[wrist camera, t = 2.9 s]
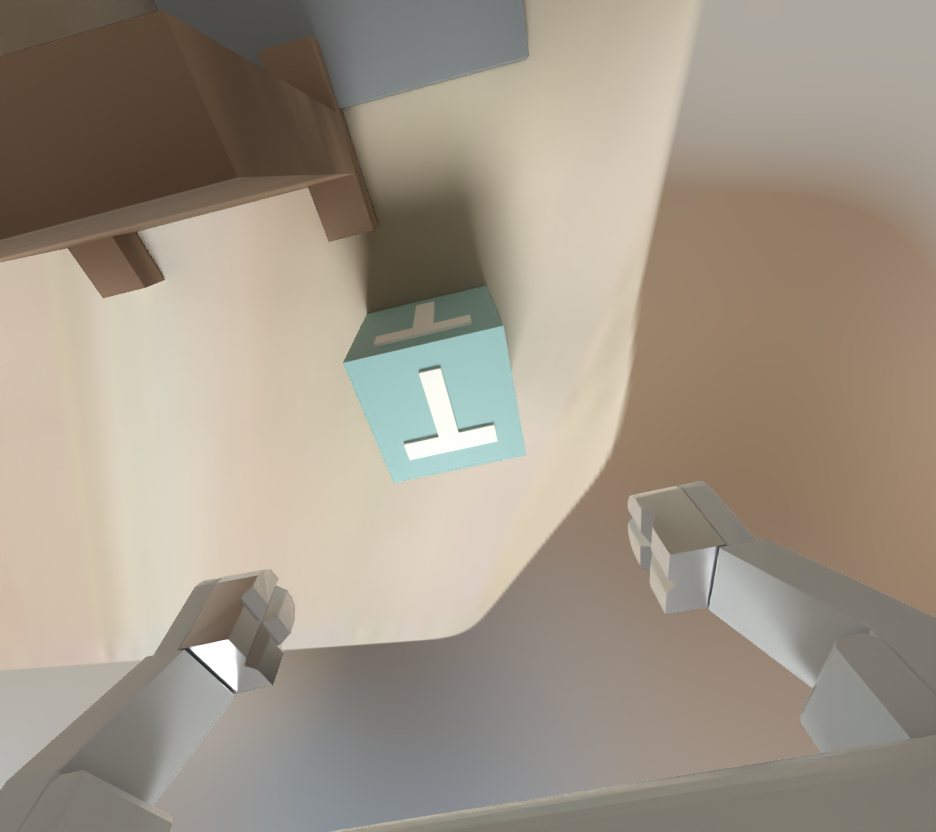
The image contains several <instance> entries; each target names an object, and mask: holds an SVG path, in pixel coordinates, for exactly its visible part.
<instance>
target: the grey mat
mask: <svg viewBox="0 0 936 832" xmlns="http://www.w3.org/2000/svg"><path fill="white" fill-rule="evenodd" d="M154 2H155V5H156V7H157V9H158V10H164V11H165V12H167V13H169V14H170V15H172V16H174V17H175V18H177V19H179V20H181V21H182V22H184V23H186V24H187V25H189V26H191V27H193V28H194V29H196V30H198V31H199V32H201V33H203V34H204V35H206V36H208V37H210V38H211V39H213V40H215V41H216V42H218V43H220V44H221V45H223V46H225V47H227V48H228V49H230V50H232V51H233V52H235V53H237V54H238V55H240V56H242V57H244V58H245V59H247V60H249V61H250V62H252V63H254V64H256V65H257V66H259V67H261V68H262V69H264V68H263V65H262V63H261V60H260V57H259V55H258V52H257V51H260V50H264V49H267V48H271V47H274V46H278V45H282V44H285V43H289V42H292V41H296V40H299V39H303V38H307V37H310V36H313V37H314V38H315V39H316V40H317V42H318V43H319V45H320V49H321V52H322V55H323V58H324V62H325V65H326V68H327V71H328V74H329V78H330V81H331V84H332V87H333V91H334V94H335V97H336V100H337V103H338V107H340V108H341V109H344V108H347V107H351V106H355V105H358V104H362V103H366V102H370V101H373V100H377V99H381V98H384V97H388V96H392V95H396V94H399V93H403V92H407V91H410V90H414V89H418V88H422V87H425V86H429V85H433V84H436V83H440V82H444V81H448V80H451V79H455V78H459V77H463V76H466V75H470V74H474V73H477V72H481V71H485V70H489V69H492V68H496V67H500V66H503V65H507V64H511V63H515V62H518V61H522V60H526V59H527V57H528V56H529V51H528V41H527V31H526V21H525V11H524V1H523V0H154Z"/></svg>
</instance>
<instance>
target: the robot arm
mask: <svg viewBox="0 0 936 832" xmlns="http://www.w3.org/2000/svg"><path fill="white" fill-rule="evenodd" d="M628 510H629V512H630V513H631V515H632V517H633V518H632V519H631V520H630V521H629V523H628V534H629V538H630V543H631V547H632V549H633V552H634V554H635V556H636V558H637V561H638V563H639V565H640V566H641V567H642V568H644V569H645V570H647V571H649V572H650V586H651V588H652V590H653V592H654V593H655V595H656V597H657V599H658V601H659V603H660V604H661V607H662V608H663V610H664V612H665V614H668V613H675V612H681V611H687V610H694V609H700V608H707V607H709V610H710V611H712V612H713V613H714V614H715V615H717V616H718V617H719V618H721V619H722V620H723V621H725V622H726V623H727V624H729V625H730V626H731V627H732V628H734V629H735V630H736V631H738V632H739V633H740V634H742V635H743V636H744V637H746V638H747V639H748V640H750V641H751V642H752V643H754V644H755V645H756V646H758V647H759V648H760V649H762V650H763V651H764V652H766V653H767V654H768V655H770V656H771V657H772V658H773V659H775V660H776V661H777V662H779V663H780V664H781V665H783V666H784V667H785V668H787V669H788V670H789V671H791V672H792V673H793V674H795V675H796V676H797V677H799V678H800V679H801V680H803V681H804V682H805V683H806V684H808V685H809V686H811V687H812V690H811V693H810V695H809V697H808V699H807V701H806V703H805V705H804V707H803V709H802V712H801V715H800V721H801V723H802V724H803V726H804V727H805V729H806V730H807V732H808V734H809V735H810V737H811V738H812V739H813V741H814V742H815V744H816V746H817V747H818V749H819V750H820V752H821V753H819V754H813V755H806V756H800V757H794V758H787V759H781V760H775V761H769V762H763V763H756V764H750V765H743V766H737V767H731V768H725V769H718V770H712V771H706V772H700V773H693V774H687V775H681V776H675V777H668V778H663V779H657V780H650V781H643V782H637V783H631V784H625V785H619V786H612V787H606V788H599V789H593V790H587V791H581V792H574V793H568V794H562V795H556V796H550V797H543V798H537V799H531V800H524V801H519V802H512V803H506V804H499V805H493V806H487V807H480V808H474V809H468V810H462V811H456V812H449V813H443V814H437V815H431V816H424V817H418V818H412V819H406V820H400V821H393V822H387V823H380V824H374V825H368V826H361V827H355V828H349V829H343V830H337V831H331V832H936V618H935V617H933V616H931V615H929V614H926V613H924V612H922V611H920V610H918V609H916V608H914V607H911V606H909V605H907V604H905V603H903V602H901V601H898V600H896V599H894V598H892V597H890V596H888V595H886V594H883V593H881V592H879V591H877V590H874V589H873V588H870V587H868V586H866V585H864V584H862V583H860V582H858V581H855V580H853V579H851V578H849V577H847V576H845V575H842V574H840V573H838V572H836V571H834V570H832V569H830V568H827V567H825V566H823V565H821V564H819V563H816V562H815V561H812V560H810V559H808V558H806V557H804V556H802V555H799V554H797V553H795V552H793V551H791V550H789V549H786V548H784V547H782V546H780V545H778V544H776V543H774V542H771V541H769V540H767V539H758V540H757V539H756V538H755V537H754V536H753V535H752V534H751V533H750V531H749V530H748V529H747V528H746V527H745V526H744V525H743V524H742V522H741V521H740V520H739V519H738V518H737V517H736V516H735V515H734V514H733V513H732V511H731V510H730V509H729V508H728V507H727V506H726V505H725V503H724V502H723V501H722V500H721V499H720V498H719V497H718V496H717V495H716V493H714V491H713V490H712V489H711V488H710V487H709V486H708V484H706V483H704V482H703V481H698V482H694V483H689V484H684V485H679V486H676V487H675V486H673V487H669V488H665V489H659V490H654V491H650V492H645V493H641V494H636V495H631V496H630V497H629V499H628ZM277 582H278V577H277V576H276V575H275V574H274V573H273V571H272V570H261V571H255V572H249V573H243V574H238V575H232V576H226V577H222V578H217V579H211V580H205V581H202V582H201V583H200V584H198V585H197V586H196V587H195V588H194V590H193V591H192V593H191V594H190V596H189V598H188V599H187V601H186V603H185V604H184V606H183V608H182V609H181V611H180V613H179V614H178V616H177V618H176V619H175V621H174V622H173V624H172V626H171V627H170V629H169V631H168V632H167V634H166V636H165V637H164V639H163V641H162V642H161V644H160V646H159V647H158V649H157V650H156V652H155V654H154V655H152V656H148V657H146V658H145V659H144V660H142V661H141V662H140V663H139V664H138V665H137V666H136V667H135V668H134V669H133V670H131V671H130V672H129V673H128V674H127V675H126V676H125V677H123V678H122V679H121V680H120V681H119V682H118V683H117V684H116V685H114V686H113V687H112V688H111V689H110V690H109V691H108V692H106V693H105V694H104V695H103V696H102V697H101V698H100V699H99V700H98V701H96V702H95V703H94V704H93V705H92V706H91V707H90V708H89V709H87V710H86V711H85V712H84V713H83V714H82V715H81V716H80V717H78V718H77V719H76V720H75V721H74V722H73V723H72V724H71V725H70V726H68V727H67V728H66V729H65V730H64V731H63V732H62V733H60V734H59V735H58V736H57V737H56V738H55V739H54V740H53V741H51V742H50V743H49V744H48V745H47V746H46V747H45V748H44V749H42V750H41V751H40V752H39V753H38V754H37V755H36V756H35V757H33V758H32V759H31V760H30V761H29V762H28V763H27V764H26V765H25V766H23V767H22V768H21V769H20V770H19V771H18V772H17V773H15V774H14V775H13V776H12V777H11V778H10V779H9V780H8V781H7V782H6V783H5V785H4V786H3V787H2V789H1V790H0V832H169V831H170V828H171V826H172V819H171V816H170V815H169V814H167V813H165V812H163V811H161V810H159V809H157V808H155V807H153V805H154V804H155V803H156V801H157V800H158V799H159V797H160V796H161V795H162V793H163V792H164V790H165V789H166V788H167V787H168V785H169V784H170V783H171V781H172V780H173V779H174V777H175V776H176V775H177V773H178V772H179V771H180V769H181V768H182V767H183V765H184V764H185V763H186V761H187V760H188V759H189V757H190V756H191V755H192V753H193V752H194V751H195V750H196V748H197V747H198V745H199V744H200V743H201V741H202V740H203V739H204V737H205V736H206V735H207V733H208V732H209V731H210V730H211V728H212V727H213V726H214V724H215V723H216V722H217V720H218V719H219V718H220V716H221V715H222V714H223V712H224V711H225V710H226V708H227V707H228V706H229V704H230V703H231V702H232V700H233V699H234V698H235V695H234V694H237V693H242V692H247V691H251V690H256V689H260V688H265V687H270V686H273V684H274V681H275V678H276V675H277V672H278V669H279V666H280V663H281V660H282V657H283V654H284V653H283V650H282V647H281V643H282V642H283V641H284V640H285V639H286V638H287V636H288V635H289V634H290V633H291V630H292V627H293V623H294V619H295V605H294V602H293V599H292V597H291V595H290V594H289V592H288V591H287V590H285V589H283V588H280V587H278V586H276V585H277Z"/></svg>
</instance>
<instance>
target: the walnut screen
mask: <svg viewBox="0 0 936 832" xmlns="http://www.w3.org/2000/svg"><path fill="white" fill-rule="evenodd" d="M257 52H258V55H259V57H260V60H261V63H262V65H263V68H264V69H262V68H261V67H259V66H257V65H256V64H254V63H252V62H250V61H249V60H247V59H245V58H244V57H242V56H240V55H238V54H237V53H235V52H233V51H232V50H230V49H228V48H227V47H225V46H223V45H221V44H220V43H218V42H216V41H215V40H213V39H211V38H210V37H208V36H206V35H204V34H203V33H201V32H199V31H198V30H196V29H194V28H193V27H191V26H189V25H187V24H186V23H184V22H182V21H181V20H179V19H177V18H175V17H174V16H172V15H170V14H169V13H167V12H165V11H164V10H158V11H155V12H151V13H148V14H144V15H141V16H137V17H134V18H131V19H127V20H124V21H120V22H117V23H113V24H110V25H107V26H103V27H100V28H96V29H93V30H89V31H86V32H83V33H79V34H76V35H72V36H69V37H65V38H62V39H59V40H55V41H52V42H48V43H45V44H41V45H38V46H35V47H31V48H28V49H24V50H21V51H17V52H14V53H10V54H7V55H4V56H0V262H4V261H8V260H13V259H18V258H23V257H28V256H32V255H37V254H42V253H47V252H51V251H56V250H61V249H66V248H68V249H69V251H70V252H71V254H72V255H73V256H74V258H75V259H76V261H77V262H78V263H79V265H80V266H81V268H82V269H83V270H84V272H85V273H86V275H87V276H88V278H89V279H90V280H91V282H92V283H93V285H94V286H95V287H96V289H97V290H98V292H99V293H100V294H101V296H102V297H103V298H106V297H110V296H114V295H118V294H122V293H126V292H130V291H134V290H138V289H142V288H146V287H148V286H151V285H153V284H156V283H158V282H161V281H163V280H165V279H164V278H163V276H162V274H161V273H160V271H159V269H158V268H157V266H156V265H155V263H154V261H153V260H152V258H151V256H150V255H149V253H148V252H147V250H146V248H145V247H144V245H143V243H142V242H141V240H140V238H139V237H138V235H137V234H136V232H137V231H141V230H145V229H148V228H152V227H156V226H160V225H164V224H168V223H172V222H176V221H179V220H183V219H187V218H191V217H195V216H199V215H203V214H206V213H210V212H214V211H218V210H222V209H226V208H230V207H233V206H237V205H241V204H245V203H249V202H253V201H257V200H261V199H264V198H268V197H272V196H276V195H280V194H284V193H288V192H291V191H295V190H299V189H303V188H307V187H308V188H309V190H310V193H311V196H312V198H313V201H314V204H315V206H316V209H317V212H318V214H319V217H320V220H321V222H322V225H323V228H324V230H325V233H326V236H327V238H328V241H329V242H330V241H334V240H338V239H342V238H346V237H350V236H354V235H358V234H362V233H366V232H370V231H374V230H375V229H376V228H377V227H378V225H377V222H376V218H375V215H374V212H373V209H372V205H371V202H370V199H369V196H368V192H367V189H366V186H365V183H364V179H363V176H362V173H361V170H360V166H359V163H358V160H357V157H356V153H355V150H354V147H353V144H352V140H351V137H350V134H349V131H348V127H347V124H346V121H345V118H344V114H343V111H342V109H341V108H340V107H338V103H337V100H336V97H335V94H334V91H333V87H332V84H331V81H330V78H329V74H328V71H327V68H326V65H325V62H324V58H323V55H322V52H321V49H320V45H319V43H318V42H317V40H316V39H315V38H314V37H313V36H310V37H307V38H303V39H299V40H296V41H292V42H289V43H285V44H282V45H278V46H274V47H271V48H267V49H264V50H260V51H257Z"/></svg>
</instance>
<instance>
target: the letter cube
mask: <svg viewBox="0 0 936 832" xmlns="http://www.w3.org/2000/svg"><path fill="white" fill-rule="evenodd" d="M343 364H344V367H345V369H346V371H347V374H348V376H349V378H350V381H351V383H352V386H353V388H354V390H355V393H356V395H357V397H358V400H359V402H360V404H361V407H362V409H363V411H364V414H365V416H366V419H367V421H368V423H369V426H370V428H371V430H372V433H373V435H374V437H375V440H376V442H377V445H378V447H379V449H380V452H381V454H382V456H383V459H384V461H385V463H386V466H387V468H388V471H389V473H390V475H391V478H392V480H393V482H394V483H397V482H402V481H407V480H411V479H416V478H421V477H425V476H430V475H435V474H439V473H444V472H449V471H454V470H458V469H463V468H468V467H472V466H477V465H482V464H486V463H491V462H496V461H501V460H505V459H510V458H515V457H519V456H524V455H526V452H525V446H524V440H523V434H522V429H521V423H520V417H519V411H518V406H517V400H516V394H515V389H514V383H513V377H512V371H511V366H510V360H509V354H508V348H507V343H506V337H505V331H504V326H503V323H502V321H501V319H500V316H499V314H498V312H497V309H496V307H495V305H494V302H493V300H492V298H491V295H490V293H489V291H488V288H487V286H486V285H485V286H481V287H477V288H473V289H469V290H464V291H460V292H456V293H452V294H448V295H443V296H439V297H435V298H431V299H427V300H423V301H418V302H414V303H410V304H406V305H402V306H397V307H393V308H389V309H385V310H381V311H376V312H372V313H368V314H367V315H366V317H365V319H364V321H363V323H362V325H361V327H360V329H359V331H358V333H357V335H356V337H355V339H354V341H353V344H352V346H351V348H350V350H349V352H348V354H347V356H346V358H345V360H344V362H343Z"/></svg>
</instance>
